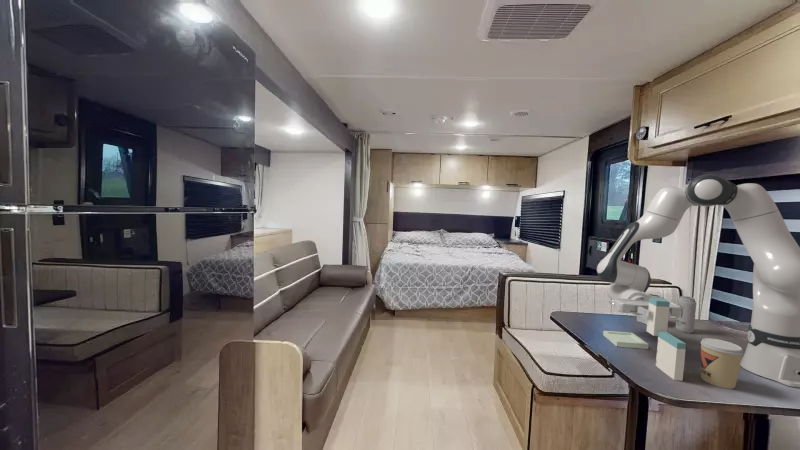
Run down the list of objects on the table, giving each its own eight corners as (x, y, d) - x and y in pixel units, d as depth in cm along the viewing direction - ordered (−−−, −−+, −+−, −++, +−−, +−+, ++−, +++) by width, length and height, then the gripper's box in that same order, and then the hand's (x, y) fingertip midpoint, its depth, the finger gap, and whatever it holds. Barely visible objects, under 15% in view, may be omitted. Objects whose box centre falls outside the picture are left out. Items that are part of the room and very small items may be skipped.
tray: (632, 337, 134) (632, 332, 134) (648, 349, 123) (648, 344, 123) (603, 335, 136) (603, 330, 136) (616, 346, 125) (617, 341, 125)
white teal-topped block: (658, 332, 114) (662, 298, 113) (666, 336, 110) (669, 301, 110) (646, 331, 115) (649, 297, 114) (653, 335, 111) (656, 300, 110)
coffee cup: (691, 371, 107) (695, 335, 107) (728, 377, 104) (732, 340, 103) (706, 385, 99) (710, 347, 98) (746, 393, 95) (751, 353, 95)
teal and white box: (663, 366, 110) (666, 332, 109) (682, 380, 101) (686, 343, 100) (655, 365, 111) (658, 331, 110) (673, 379, 102) (677, 342, 101)
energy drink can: (671, 328, 146) (674, 295, 145) (685, 328, 146) (688, 295, 145) (682, 333, 140) (685, 299, 139) (697, 334, 140) (700, 299, 139)
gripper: (607, 292, 126) (627, 303, 112) (666, 296, 123) (693, 307, 110) (606, 308, 127) (625, 321, 113) (664, 312, 124) (691, 326, 110)
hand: (659, 314), depth 111 cm, fingers closed on white teal-topped block, 4 cm apart
